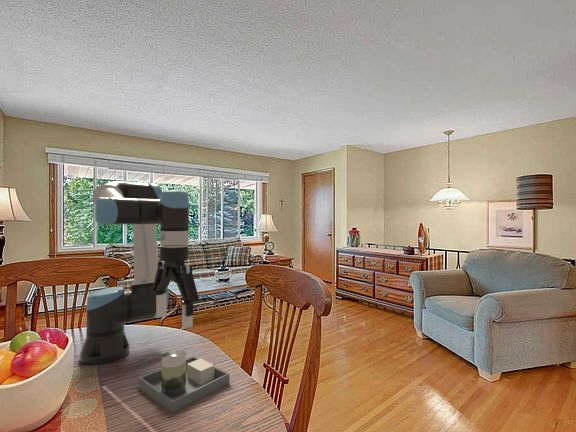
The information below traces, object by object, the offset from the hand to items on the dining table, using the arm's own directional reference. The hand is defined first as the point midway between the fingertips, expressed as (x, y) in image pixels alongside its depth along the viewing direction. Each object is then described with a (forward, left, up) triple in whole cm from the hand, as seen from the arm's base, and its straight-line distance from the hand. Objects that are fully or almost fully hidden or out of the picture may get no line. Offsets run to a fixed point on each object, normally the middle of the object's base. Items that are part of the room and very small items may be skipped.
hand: (173, 322), depth 86 cm
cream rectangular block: (0, +9, -19) cm, 21 cm away
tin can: (0, 0, -19) cm, 19 cm away
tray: (0, +3, -20) cm, 20 cm away
